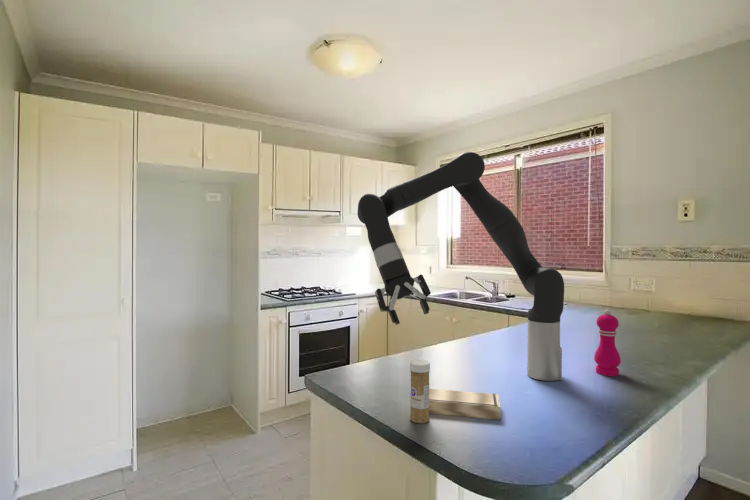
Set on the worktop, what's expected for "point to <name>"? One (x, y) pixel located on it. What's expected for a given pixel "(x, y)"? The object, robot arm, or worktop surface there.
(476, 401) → the maple plank
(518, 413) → the worktop surface
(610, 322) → the pepper mill
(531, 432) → the worktop surface
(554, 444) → the worktop surface
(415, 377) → the sprinkles bottle
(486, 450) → the worktop surface
